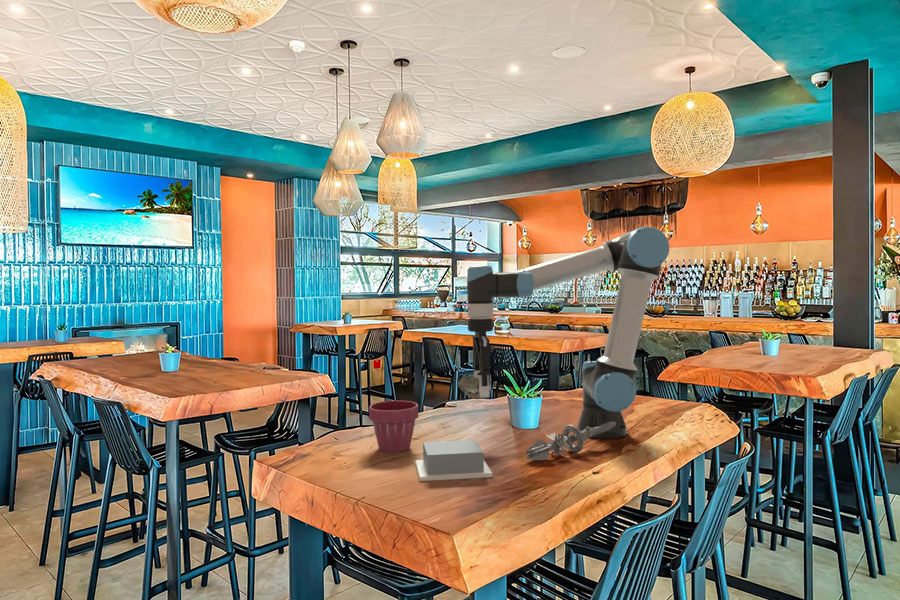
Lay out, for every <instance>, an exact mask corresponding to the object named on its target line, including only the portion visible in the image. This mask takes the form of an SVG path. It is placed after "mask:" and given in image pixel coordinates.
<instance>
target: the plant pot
mask: <svg viewBox="0 0 900 600" xmlns="http://www.w3.org/2000/svg"><path fill="white" fill-rule="evenodd" d="M368 410H369V411H368V415H369V416H368V417H369V420H370V421H371V422H372V425H373V428H374V429H373V430H374V433H375V438H376V442H377V445H378V449H379V451H381V452H383V453H401V452H404V451H405V452H406V451H408V450H409V449H410V448H411V443H412V439H413V434H414V429H415V423H416V419H418V418H419V404H418V403H417V402H415V401H410V400H402V399H401V400H398V399H396V400H385V401H379V402H375V403H371V404H370V405H369V409H368Z"/></svg>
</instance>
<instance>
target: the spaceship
mask: <svg viewBox="0 0 900 600" xmlns="http://www.w3.org/2000/svg"><path fill="white" fill-rule="evenodd" d="M615 425H616V422H614V421H611V422H608V423H605V424H603V425H601V426H598V427H593V428H590V427H586V429H584V430H583V431H579V430H578V427H576V426H575V425H572V424H567V425H566V426H564V428H563V430H562V433H558V434H556V433H554V432H552V434H551V433H550V434H549V435H548V434H547V435H546V437H548V438H550V440H547V441H546V440H543V439H540V438H538V439H537V440H536V441H535V442H533V443H532V444H531V445H530V446H529V447H528V448H527V449H526V450H525V454H526V455H525V457H526V459H527V460H533V461H547V459H549V456H554V455H556V454H557V455H559V456H561V457H562V456H563V455H564V456H565V455H566V454H569V452H568V451H566V450H565V449H568V450H569V451H570V452H572V453H574V454H575V453H577V454H578V453H580V452H581V451H582V450H583V448H584V445H585V443H584V442H586V441H588V439H590V438H592V437H591V436H593V435H596V434H599V433H602V432H605V431H608V430H610V429H612V428H613V427H614V426H615ZM549 450H551V455H550V451H549Z"/></svg>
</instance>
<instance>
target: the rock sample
mask: <svg viewBox="0 0 900 600" xmlns="http://www.w3.org/2000/svg"><path fill="white" fill-rule="evenodd" d="M456 386H458V388H459V390H460V391H462V392H463V393H464V395H465V396H467V397H468V398H473V399H476V400H479V399H483V398H485V397H480V396H479V378H474V377H470V375H465V374H464V375H462V377H461V378H460V380H459V381H458V383H457V384H456ZM491 392H492V387H491V386H490V385H489V394H491Z"/></svg>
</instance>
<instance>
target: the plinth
mask: <svg viewBox="0 0 900 600" xmlns="http://www.w3.org/2000/svg"><path fill="white" fill-rule="evenodd" d="M422 448H423V449H422V455H423V456H422V459H415V467H416V471H417V475H418V479H419V481H420V482H428V481H447V480H464V479H481V478H484V477H485V478H493V476H494V475H493V472H492V470H491V469H490V466H488V464H487V462H486V461H485V459H484V457H485V456H484V454H485V453H484V451H483V450H482V448H481V446H480V445H479V443H478V442H477V441H476V439H462V440H460V439H459V440H443V441H440V440H439V441H438V440H437V441H424V442H422Z"/></svg>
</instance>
